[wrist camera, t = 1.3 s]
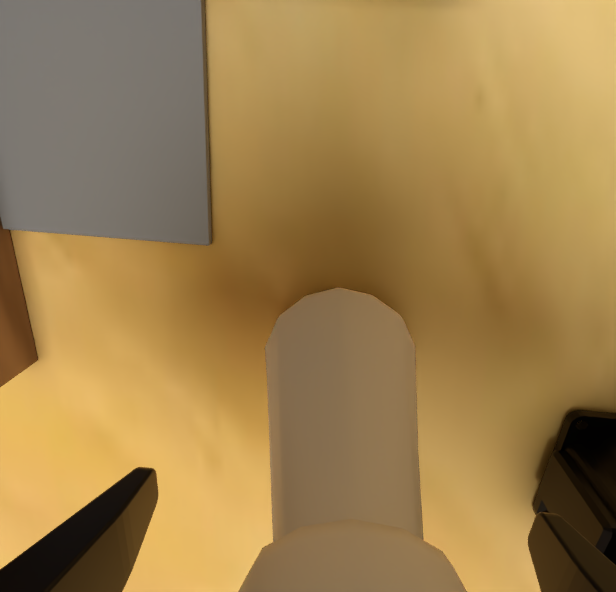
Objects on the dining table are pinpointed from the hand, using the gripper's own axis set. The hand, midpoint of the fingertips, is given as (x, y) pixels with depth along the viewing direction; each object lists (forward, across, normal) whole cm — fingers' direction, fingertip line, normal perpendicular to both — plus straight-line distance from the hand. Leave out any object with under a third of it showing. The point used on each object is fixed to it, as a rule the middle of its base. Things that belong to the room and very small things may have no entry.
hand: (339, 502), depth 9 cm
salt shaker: (+9, 0, 0) cm, 9 cm away
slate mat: (+9, +10, -8) cm, 16 cm away
